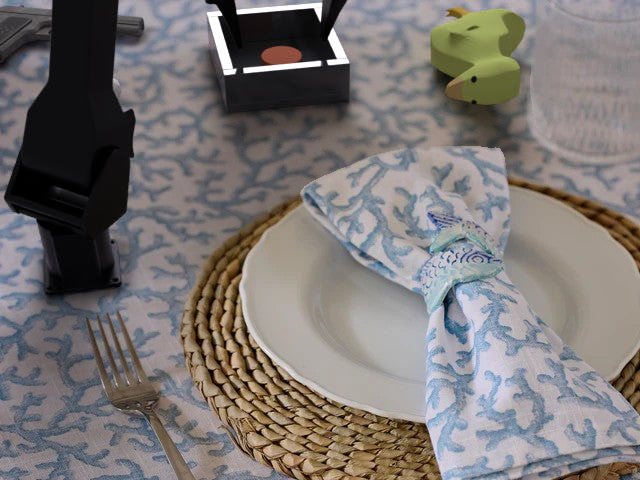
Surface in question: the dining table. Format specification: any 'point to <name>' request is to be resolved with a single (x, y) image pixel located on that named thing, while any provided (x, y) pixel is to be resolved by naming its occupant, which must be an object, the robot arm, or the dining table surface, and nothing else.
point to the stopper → (280, 56)
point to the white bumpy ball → (116, 88)
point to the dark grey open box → (277, 80)
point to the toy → (479, 54)
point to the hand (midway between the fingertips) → (281, 44)
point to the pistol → (44, 27)
